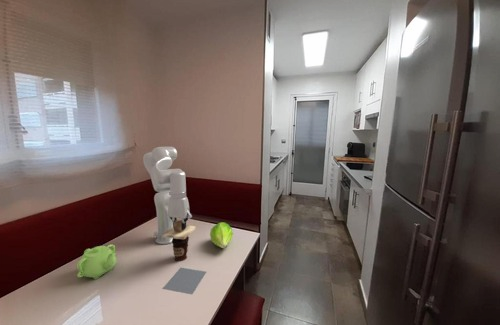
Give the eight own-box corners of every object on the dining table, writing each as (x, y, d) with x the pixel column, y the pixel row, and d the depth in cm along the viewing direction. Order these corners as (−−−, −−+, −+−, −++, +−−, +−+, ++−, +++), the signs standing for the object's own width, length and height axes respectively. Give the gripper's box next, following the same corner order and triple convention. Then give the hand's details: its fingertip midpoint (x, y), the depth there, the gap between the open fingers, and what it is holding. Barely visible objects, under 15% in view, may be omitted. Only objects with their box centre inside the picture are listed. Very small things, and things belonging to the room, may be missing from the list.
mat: (162, 289, 85) (162, 288, 85) (180, 268, 98) (180, 267, 98) (192, 295, 82) (192, 294, 82) (206, 272, 95) (206, 271, 95)
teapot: (123, 259, 105) (122, 237, 103) (116, 277, 92) (113, 252, 90) (86, 266, 99) (84, 242, 98) (72, 286, 86) (69, 259, 85)
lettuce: (209, 257, 108) (209, 236, 106) (210, 238, 127) (210, 220, 126) (234, 254, 110) (234, 234, 108) (232, 236, 130) (232, 219, 128)
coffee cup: (183, 265, 101) (182, 241, 99) (169, 263, 102) (168, 239, 101) (192, 255, 109) (191, 233, 107) (178, 253, 111) (177, 231, 109)
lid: (162, 236, 99) (162, 225, 98) (176, 226, 111) (175, 215, 110) (184, 239, 97) (183, 227, 96) (195, 228, 108) (195, 217, 107)
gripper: (159, 196, 99) (161, 230, 101) (189, 198, 96) (190, 234, 98) (168, 192, 106) (170, 224, 109) (196, 194, 103) (197, 227, 105)
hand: (179, 228), depth 103 cm, fingers closed on lid, 4 cm apart
